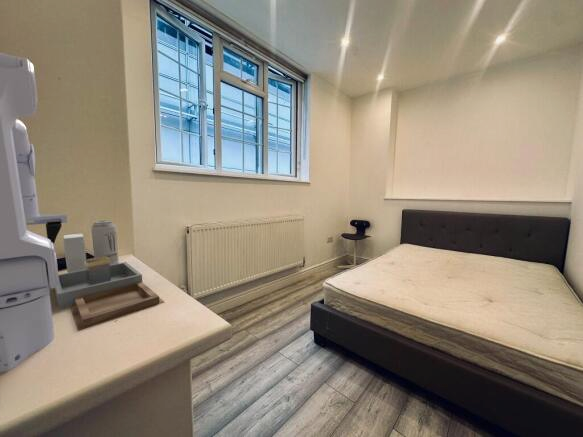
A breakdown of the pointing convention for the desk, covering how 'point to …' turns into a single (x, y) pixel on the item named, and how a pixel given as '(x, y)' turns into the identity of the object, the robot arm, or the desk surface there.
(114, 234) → the energy drink can
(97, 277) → the grey tall block
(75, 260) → the skincare box
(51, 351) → the desk surface
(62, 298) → the bin
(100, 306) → the socket block
